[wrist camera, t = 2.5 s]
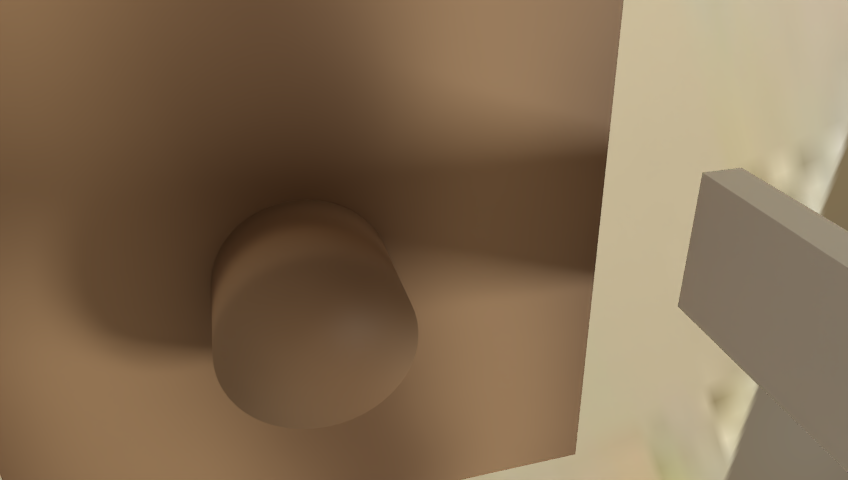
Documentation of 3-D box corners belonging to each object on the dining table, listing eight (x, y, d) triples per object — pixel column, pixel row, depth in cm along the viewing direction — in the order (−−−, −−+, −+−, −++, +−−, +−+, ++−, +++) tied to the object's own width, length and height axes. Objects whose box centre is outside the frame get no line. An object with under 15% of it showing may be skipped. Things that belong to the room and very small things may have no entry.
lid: (69, 445, 17) (17, 675, 12) (-105, -74, 11) (-320, -26, 7) (517, 360, 19) (619, 524, 14) (540, -99, 14) (711, -77, 9)
